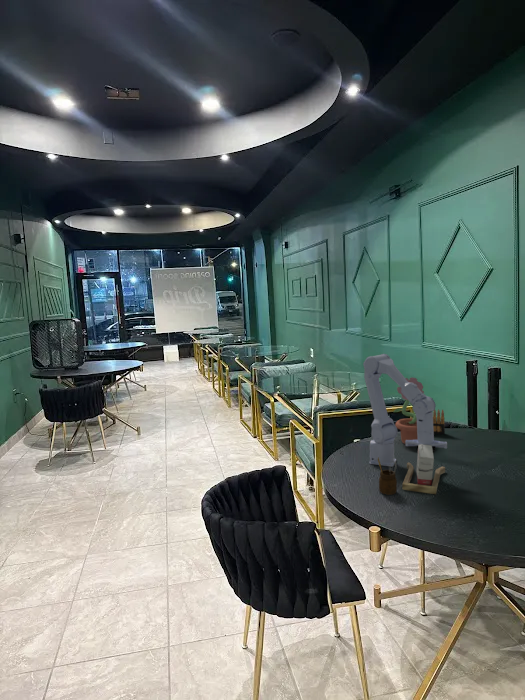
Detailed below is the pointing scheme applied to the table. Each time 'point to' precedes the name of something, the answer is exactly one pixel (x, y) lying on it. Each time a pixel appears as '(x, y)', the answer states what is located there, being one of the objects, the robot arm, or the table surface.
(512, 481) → the table surface
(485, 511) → the table surface
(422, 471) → the ink box
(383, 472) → the utensil holder
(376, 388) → the robot arm
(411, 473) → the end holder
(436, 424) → the ammunition clip
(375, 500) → the table surface
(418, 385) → the decorative flower
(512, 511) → the table surface
